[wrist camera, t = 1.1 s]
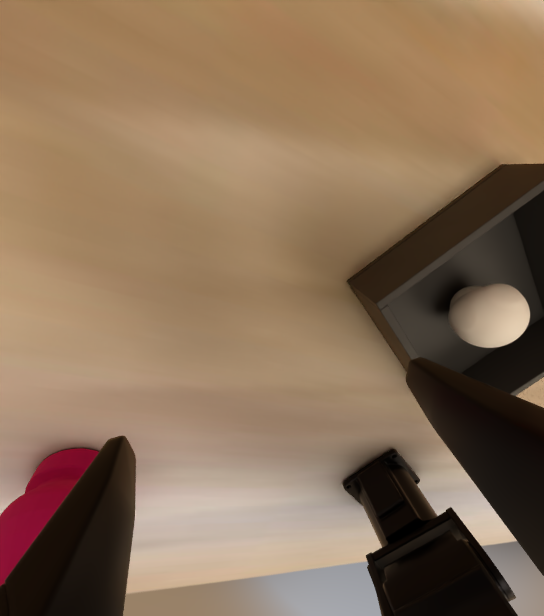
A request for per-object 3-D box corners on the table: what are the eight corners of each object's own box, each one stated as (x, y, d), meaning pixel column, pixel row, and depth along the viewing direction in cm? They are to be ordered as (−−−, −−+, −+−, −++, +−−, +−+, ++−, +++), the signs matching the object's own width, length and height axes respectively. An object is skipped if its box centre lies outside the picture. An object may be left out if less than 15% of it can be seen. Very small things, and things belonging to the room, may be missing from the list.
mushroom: (495, 269, 24) (559, 290, 20) (481, 323, 26) (537, 354, 22) (438, 275, 24) (491, 300, 19) (428, 331, 26) (475, 365, 21)
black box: (547, 314, 28) (603, 337, 24) (424, 398, 29) (458, 434, 25) (501, 164, 22) (568, 162, 18) (346, 280, 23) (375, 303, 19)
